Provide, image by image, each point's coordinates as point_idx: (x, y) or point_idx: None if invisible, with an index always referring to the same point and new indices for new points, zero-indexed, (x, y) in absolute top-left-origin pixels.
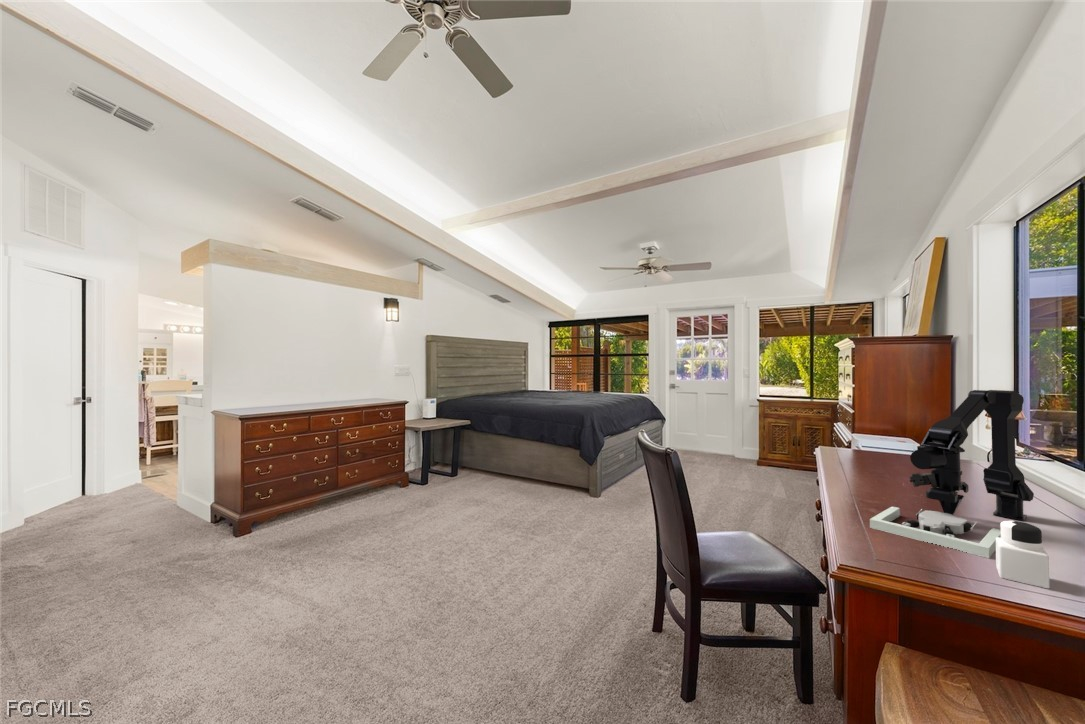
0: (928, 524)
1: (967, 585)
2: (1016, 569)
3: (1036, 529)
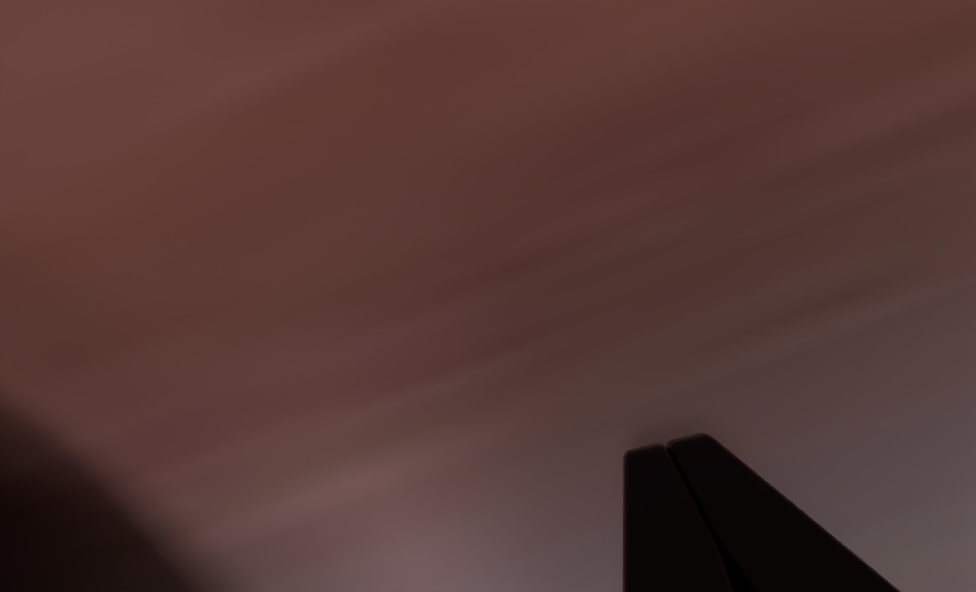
0: None
1: None
2: None
3: None
